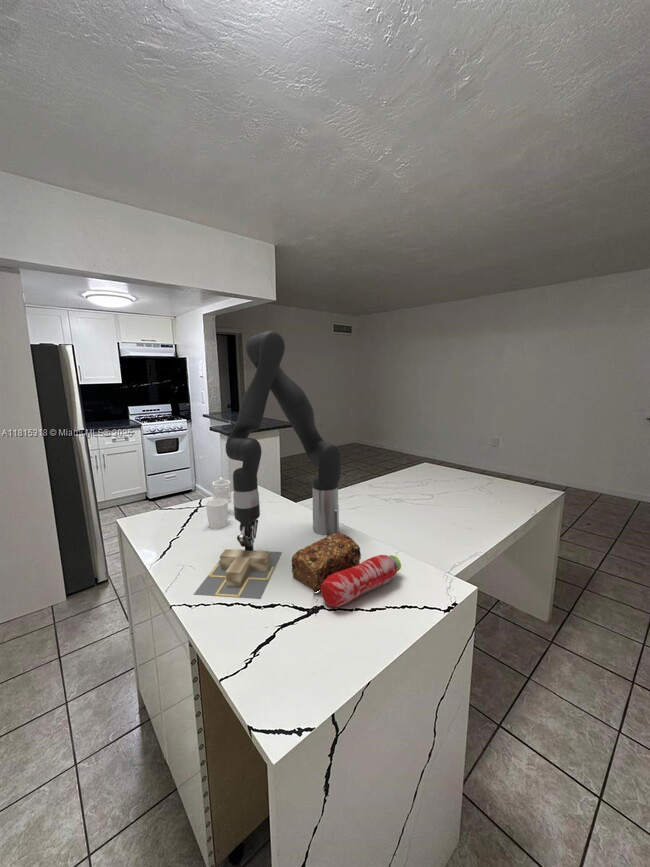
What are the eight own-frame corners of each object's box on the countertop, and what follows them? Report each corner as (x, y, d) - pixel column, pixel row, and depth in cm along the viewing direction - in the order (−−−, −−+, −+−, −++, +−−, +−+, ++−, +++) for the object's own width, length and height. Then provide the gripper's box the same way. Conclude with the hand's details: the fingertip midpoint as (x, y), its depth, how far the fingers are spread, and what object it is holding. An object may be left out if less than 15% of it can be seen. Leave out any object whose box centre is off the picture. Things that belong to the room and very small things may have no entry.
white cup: (223, 532, 130) (221, 506, 128) (203, 530, 132) (201, 505, 130) (232, 523, 138) (231, 499, 136) (214, 522, 139) (212, 497, 138)
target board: (282, 554, 114) (282, 551, 114) (260, 602, 90) (260, 598, 90) (228, 552, 116) (228, 548, 116) (193, 598, 92) (193, 593, 92)
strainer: (231, 510, 151) (229, 476, 149) (232, 516, 145) (230, 481, 142) (214, 512, 149) (212, 478, 146) (214, 518, 142) (212, 483, 140)
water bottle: (308, 569, 93) (376, 542, 108) (311, 599, 94) (379, 568, 108) (336, 583, 84) (407, 552, 98) (339, 616, 84) (410, 580, 98)
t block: (270, 564, 107) (270, 551, 106) (258, 587, 95) (258, 574, 94) (226, 561, 108) (225, 549, 108) (208, 584, 96) (207, 570, 96)
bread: (337, 557, 113) (337, 527, 111) (362, 570, 105) (362, 538, 103) (290, 580, 100) (289, 547, 99) (314, 597, 92) (314, 562, 91)
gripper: (251, 511, 99) (254, 568, 103) (265, 495, 112) (267, 545, 115) (225, 511, 100) (229, 566, 104) (242, 494, 113) (245, 544, 116)
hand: (249, 555), depth 110 cm, fingers closed
